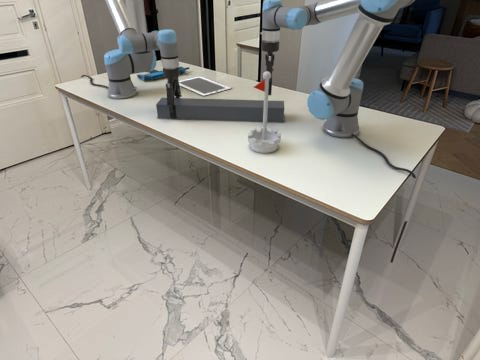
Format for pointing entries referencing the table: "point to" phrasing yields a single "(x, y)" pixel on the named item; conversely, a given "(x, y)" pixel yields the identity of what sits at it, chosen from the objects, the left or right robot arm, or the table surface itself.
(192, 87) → the tablet
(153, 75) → the submachine gun
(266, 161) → the table surface
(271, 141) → the flag stand
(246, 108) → the wide beam
